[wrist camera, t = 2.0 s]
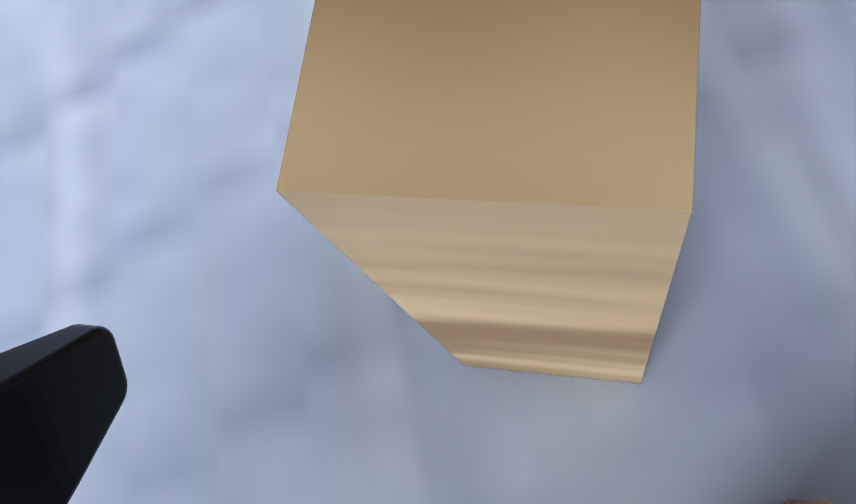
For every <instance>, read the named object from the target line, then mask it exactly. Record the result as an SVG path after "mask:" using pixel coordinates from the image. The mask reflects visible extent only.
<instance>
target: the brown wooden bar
mask: <svg viewBox="0 0 856 504" xmlns="http://www.w3.org/2000/svg"><path fill="white" fill-rule="evenodd" d="M784 504H833V503H832V502H830V501H818V500H786V502H785V503H784Z"/></svg>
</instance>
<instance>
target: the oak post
mask: <svg viewBox="0 0 856 504" xmlns="http://www.w3.org/2000/svg"><path fill="white" fill-rule="evenodd" d="M700 5H701V0H315V3H314V8H313V13H312V18H311V23H310V28H309V33H308V38H307V43H306V48H305V52H304V57H303V62H302V67H301V72H300V77H299V82H298V87H297V92H296V97H295V102H294V107H293V111H292V116H291V121H290V126H289V131H288V136H287V141H286V146H285V151H284V156H283V161H282V166H281V170H280V175H279V180H278V185H277V190H276V191H277V192H278V193H279V194H280V195H281V196H282V197H283V198H284V199H285V200H287V201H288V202H289V203H290V204H291V205H292V206H293V207H294V208H295V209H296V210H297V211H298V212H299V213H301V214H302V215H303V216H304V217H305V218H306V219H307V220H308V221H309V222H310V223H311V224H312V225H313V226H314V227H316V228H317V229H318V230H319V231H320V232H321V233H322V234H323V235H324V236H325V237H326V238H327V239H328V240H330V241H331V242H332V243H333V244H334V245H335V246H336V247H337V248H338V249H339V250H340V251H341V252H342V253H343V254H345V255H346V256H347V257H348V258H349V259H350V260H351V261H352V262H353V263H354V264H355V265H356V266H357V267H359V268H360V269H361V270H362V271H363V272H364V273H365V274H366V275H367V276H368V277H369V278H370V279H371V280H372V281H374V282H375V283H376V284H377V285H378V286H379V287H380V288H381V289H382V290H383V291H384V292H385V293H386V294H388V295H389V296H390V297H391V298H392V299H393V300H394V301H395V302H396V303H397V304H398V305H399V306H400V307H401V308H403V309H404V310H405V311H406V312H407V313H408V314H409V315H410V316H411V317H412V318H413V319H414V320H415V321H417V322H418V323H419V324H420V325H421V326H422V327H423V328H424V329H425V330H426V331H427V332H428V333H429V334H430V335H432V336H433V337H434V338H435V339H436V340H437V341H438V342H439V343H440V344H441V345H442V346H443V347H444V348H446V349H447V350H448V351H449V352H450V353H451V354H452V355H453V356H454V357H455V358H456V359H457V360H458V361H459V362H461V363H462V364H463V365H464V366H472V367H482V368H492V369H501V370H511V371H521V372H530V373H540V374H550V375H560V376H569V377H579V378H589V379H598V380H608V381H618V382H628V383H637V384H641V381H642V377H643V374H644V371H645V367H646V364H647V361H648V357H649V354H650V351H651V347H652V344H653V341H654V337H655V334H656V331H657V327H658V324H659V321H660V317H661V314H662V311H663V307H664V304H665V300H666V297H667V294H668V290H669V287H670V284H671V280H672V277H673V274H674V270H675V267H676V264H677V260H678V257H679V254H680V250H681V247H682V244H683V240H684V237H685V234H686V230H687V227H688V224H689V220H690V217H691V214H692V206H693V181H694V156H695V130H696V105H697V80H698V55H699V30H700Z"/></svg>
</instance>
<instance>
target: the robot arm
mask: <svg viewBox="0 0 856 504" xmlns="http://www.w3.org/2000/svg"><path fill="white" fill-rule="evenodd" d="M126 393H127V378H126V375H125V371H124V368H123V365H122V362H121V358H120V355H119V352H118V349H117V345H116V342H115V339H114V336H113V334H112V333H111V332H110V331H109V330H108V329H107V328H105V327H102V326H93V325H83V324H77V325H72V326H69V327H66V328H64V329H61V330H59V331H56V332H54V333H51V334H48V335H46V336H43V337H41V338H38V339H36V340H33V341H30V342H28V343H25V344H23V345H20V346H17V347H15V348H12V349H10V350H7V351H5V352H2V353H0V504H68V502H69V500H70V499H71V497H72V495H73V493H74V492H75V490H76V488H77V486H78V485H79V483H80V481H81V479H82V477H83V475H84V473H85V472H86V470H87V468H88V466H89V464H90V462H91V461H92V459H93V457H94V455H95V453H96V451H97V449H98V448H99V446H100V444H101V442H102V440H103V438H104V436H105V435H106V433H107V431H108V429H109V427H110V425H111V424H112V422H113V420H114V418H115V416H116V414H117V412H118V411H119V409H120V407H121V405H122V403H123V401H124V399H125V396H126Z"/></svg>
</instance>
